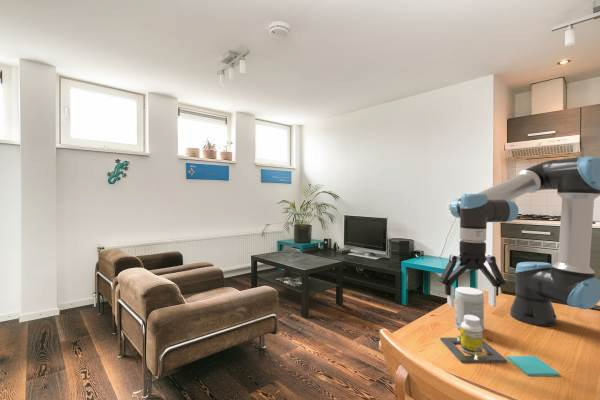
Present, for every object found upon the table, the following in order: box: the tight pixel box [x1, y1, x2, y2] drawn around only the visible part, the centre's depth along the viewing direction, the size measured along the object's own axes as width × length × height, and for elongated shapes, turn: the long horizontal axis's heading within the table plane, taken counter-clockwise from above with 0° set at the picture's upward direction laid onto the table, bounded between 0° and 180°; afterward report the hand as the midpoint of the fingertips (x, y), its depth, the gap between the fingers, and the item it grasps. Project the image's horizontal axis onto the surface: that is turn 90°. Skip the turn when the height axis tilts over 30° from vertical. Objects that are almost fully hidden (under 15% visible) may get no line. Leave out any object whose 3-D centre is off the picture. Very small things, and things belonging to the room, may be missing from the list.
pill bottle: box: [460, 315, 484, 355], centre depth 99 cm, size 6×6×11 cm
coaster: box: [505, 355, 561, 377], centre depth 90 cm, size 9×9×1 cm
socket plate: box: [439, 335, 508, 363], centre depth 99 cm, size 14×14×2 cm
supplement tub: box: [454, 286, 485, 331], centre depth 115 cm, size 10×10×15 cm
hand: (471, 305), depth 99 cm, fingers open, 13 cm apart
